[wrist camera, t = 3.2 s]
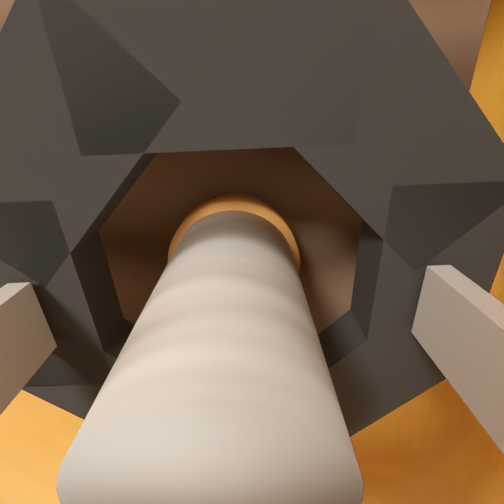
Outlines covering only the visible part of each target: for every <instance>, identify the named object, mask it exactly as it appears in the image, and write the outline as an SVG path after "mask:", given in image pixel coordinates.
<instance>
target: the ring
mask: <svg viewBox="0 0 504 504" xmlns="http://www.w3.org/2000/svg"><path fill="white" fill-rule="evenodd" d="M278 147H292V148H293V149H294V150H295V151H296V152H297V153H298V154H299V155H300V156H301V158H302V159H303V160H304V161H305V162H306V163H307V164H308V165H309V166H310V167H311V168H312V169H313V170H314V171H315V172H316V173H317V174H318V175H319V176H320V177H321V178H322V179H323V180H324V181H325V182H326V183H327V184H328V185H329V186H330V187H331V188H332V189H333V190H334V191H335V193H336V194H337V195H338V196H339V197H340V198H341V199H342V200H343V201H344V202H345V203H346V204H347V205H348V206H349V207H350V208H351V209H352V210H353V211H354V212H355V213H356V214H357V215H358V216H359V217H360V218H361V219H362V221H361V229H360V237H359V245H358V253H357V261H356V269H355V276H354V284H353V292H352V300H351V308H350V310H349V311H347V312H346V313H345V314H343V315H342V316H341V317H340V318H338V319H337V320H336V321H334V322H333V323H332V324H331V325H329V326H328V327H327V328H325V329H324V330H323V331H322V332H320V333H319V334H318V338H319V341H320V344H321V348H322V351H323V354H324V357H325V360H326V363H327V367H328V370H329V373H330V376H331V379H332V383H333V386H334V389H335V392H336V395H337V399H338V402H339V405H340V408H341V411H342V414H343V418H344V421H345V424H346V427H347V430H348V434H349V437H350V436H352V435H354V434H355V433H357V432H359V431H360V430H362V429H364V428H365V427H367V426H368V425H370V424H372V423H373V422H375V421H377V420H378V419H380V418H382V417H383V416H385V415H387V414H388V413H390V412H391V411H393V410H395V409H396V408H398V407H400V406H401V405H403V404H405V403H406V402H408V401H410V400H411V399H413V398H415V397H416V396H418V395H419V394H421V393H423V392H424V391H426V390H428V389H429V388H431V387H433V386H434V385H436V384H438V383H439V382H441V381H442V380H444V379H446V377H445V376H444V375H443V373H442V372H441V371H440V369H439V368H438V367H437V365H436V364H435V363H434V361H433V360H432V359H431V358H430V356H429V355H428V354H427V352H426V351H425V350H424V348H423V347H422V346H421V344H420V343H419V342H418V340H417V339H416V338H415V336H414V335H413V334H412V332H411V331H412V327H413V323H414V318H415V314H416V310H417V306H418V302H419V297H420V293H421V289H422V285H423V281H424V277H425V272H426V268H427V266H435V265H451V266H453V267H454V268H455V269H457V270H458V271H459V272H461V273H462V274H463V275H465V276H466V277H468V278H469V279H470V280H472V281H473V282H474V283H476V284H477V285H478V286H480V287H481V288H482V289H484V290H485V291H486V292H488V293H489V292H490V289H491V286H492V284H493V281H494V278H495V275H496V273H497V270H498V267H499V264H500V262H501V259H502V256H503V253H504V144H503V142H502V141H501V139H500V138H499V136H498V135H497V133H496V132H495V130H494V129H493V127H492V126H491V124H490V123H489V121H488V119H487V118H486V116H485V115H484V113H483V112H482V110H481V109H480V107H479V106H478V104H477V103H476V101H475V100H474V98H473V97H472V95H471V94H470V92H469V91H468V89H467V88H466V86H465V85H464V83H463V82H462V80H461V79H460V77H459V76H458V74H457V73H456V71H455V70H454V68H453V67H452V65H451V64H450V62H449V61H448V59H447V58H446V56H445V55H444V53H443V52H442V50H441V49H440V47H439V46H438V44H437V43H436V41H435V40H434V38H433V37H432V35H431V34H430V32H429V31H428V29H427V28H426V26H425V25H424V23H423V22H422V20H421V19H420V17H419V16H418V14H417V13H416V11H415V10H414V8H413V7H412V5H411V4H410V2H409V1H408V0H15V1H14V3H13V6H12V8H11V10H10V12H9V14H8V16H7V19H6V21H5V23H4V25H3V27H2V29H1V32H0V288H1V287H3V286H4V285H6V284H7V283H25V282H31V285H32V287H33V290H34V292H35V294H36V297H37V299H38V302H39V304H40V306H41V309H42V311H43V314H44V316H45V318H46V321H47V323H48V326H49V328H50V330H51V333H52V335H53V338H54V340H55V342H56V345H57V347H56V348H55V349H54V351H53V352H52V353H51V354H50V355H49V357H48V358H47V359H46V360H45V361H44V363H43V364H42V365H41V366H40V368H39V369H38V370H37V371H36V372H35V374H34V375H33V376H32V377H31V378H30V380H29V381H28V382H27V383H26V384H25V386H24V387H23V388H22V390H24V391H26V392H28V393H30V394H33V395H35V396H37V397H39V398H41V399H43V400H45V401H47V402H49V403H51V404H53V405H55V406H57V407H59V408H61V409H64V410H66V411H68V412H70V413H72V414H74V415H76V416H78V417H80V418H82V419H84V420H85V418H86V416H87V414H88V412H89V410H90V408H91V407H92V405H93V403H94V401H95V399H96V397H97V395H98V393H99V392H100V390H101V388H102V386H103V384H104V382H105V380H106V378H107V377H108V375H109V373H110V371H111V369H112V367H113V365H114V363H115V362H116V360H117V358H118V356H119V354H120V352H121V350H122V348H123V347H124V345H125V343H126V341H127V339H128V337H129V335H130V333H131V332H132V330H133V328H134V326H135V325H134V324H132V323H131V322H129V321H127V320H126V319H124V317H123V314H122V310H121V307H120V303H119V300H118V296H117V293H116V289H115V285H114V282H113V278H112V275H111V271H110V268H109V264H108V261H107V257H106V254H105V250H104V246H103V243H102V239H101V236H100V232H99V230H100V229H101V227H102V226H103V225H104V223H105V222H106V221H107V219H108V218H109V217H110V215H111V214H112V213H113V211H114V210H115V209H116V207H117V206H118V205H119V203H120V202H121V201H122V199H123V198H124V197H125V195H126V194H127V193H128V191H129V190H130V189H131V187H132V186H133V185H134V183H135V182H136V181H137V179H138V178H139V177H140V175H141V174H142V173H143V171H144V170H145V169H146V167H147V166H148V165H149V163H150V162H151V161H152V159H153V158H154V157H155V155H156V154H157V153H164V152H187V151H209V150H232V149H255V148H278Z"/></svg>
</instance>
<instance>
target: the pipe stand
mask: <svg viewBox="0 0 504 504" xmlns="http://www.w3.org/2000/svg"><path fill="white" fill-rule="evenodd" d="M14 1H15V0H0V32H1V29H2V27H3V25H4V23H5V21H6V19H7V16H8V14H9V12H10V10H11V8H12V6H13V3H14ZM408 1H409V2H410V4H411V5H412V7H413V8H414V10H415V11H416V13H417V14H418V16H419V17H420V19H421V20H422V22H423V23H424V25H425V26H426V28H427V29H428V31H429V32H430V34H431V35H432V37H433V38H434V40H435V41H436V43H437V44H438V46H439V47H440V49H441V50H442V52H443V53H444V55H445V56H446V58H447V59H448V61H449V62H450V64H451V65H452V67H453V68H454V70H455V71H456V73H457V74H458V76H459V77H460V79H461V80H462V82H463V83H464V85H465V86H466V88H467V89H468V91H470V86H471V82H472V78H473V74H474V70H475V66H476V62H477V58H478V54H479V49H480V45H481V41H482V37H483V33H484V29H485V25H486V21H487V17H488V13H489V8H490V4H491V0H408ZM361 221H362V219H361V218H360V217H359V216H358V215H357V214H356V213H355V212H354V211H353V210H352V209H351V208H350V207H349V206H348V205H347V204H346V203H345V202H344V201H343V200H342V199H341V198H340V197H339V196H338V195H337V194H336V193H335V191H334V190H333V189H332V188H331V187H330V186H329V185H328V184H327V183H326V182H325V181H324V180H323V179H322V178H321V177H320V176H319V175H318V174H317V173H316V172H315V171H314V170H313V169H312V168H311V167H310V166H309V165H308V164H307V163H306V162H305V161H304V160H303V159H302V158H301V156H300V155H299V154H298V153H297V152H296V151H295V150H294V149H293V148H292V147H278V148H255V149H232V150H209V151H187V152H164V153H157V154H156V155H155V157H154V158H153V159H152V161H151V162H150V163H149V165H148V166H147V167H146V169H145V170H144V171H143V173H142V174H141V175H140V177H139V178H138V179H137V181H136V182H135V183H134V185H133V186H132V187H131V189H130V190H129V191H128V193H127V194H126V195H125V197H124V198H123V199H122V201H121V202H120V203H119V205H118V206H117V207H116V209H115V210H114V211H113V213H112V214H111V215H110V217H109V218H108V219H107V221H106V222H105V223H104V225H103V226H102V227H101V229H100V230H99V232H100V236H101V239H102V243H103V246H104V250H105V254H106V257H107V261H108V264H109V268H110V271H111V275H112V278H113V282H114V285H115V289H116V293H117V296H118V300H119V303H120V307H121V310H122V314H123V317H124V319H126V320H127V321H129V322H131V323H132V324H134V325H135V326H134V328H133V330H132V332H131V333H130V335H129V337H128V339H127V341H126V343H125V345H124V347H123V348H122V350H121V352H120V354H119V356H118V358H117V360H116V362H115V363H114V365H113V367H112V369H111V371H110V373H109V375H108V377H107V378H106V380H105V382H104V384H103V386H102V388H101V390H100V392H99V393H98V395H97V397H96V399H95V401H94V403H93V405H92V407H91V408H90V410H89V412H88V414H87V416H86V418H85V420H84V422H83V424H82V425H81V427H80V429H79V431H78V433H77V435H76V437H75V439H74V440H73V442H72V444H71V446H70V448H69V450H68V452H67V454H66V455H65V457H64V459H63V461H62V463H61V465H60V468H59V471H58V475H57V493H58V497H59V501H60V503H61V504H361V503H362V500H363V491H364V487H363V479H362V475H361V472H360V469H359V465H358V462H357V459H356V456H355V453H354V450H353V446H352V443H351V440H350V437H349V434H348V430H347V427H346V424H345V421H344V418H343V414H342V411H341V408H340V405H339V402H338V399H337V395H336V392H335V389H334V386H333V383H332V379H331V376H330V373H329V370H328V367H327V363H326V360H325V357H324V354H323V351H322V348H321V344H320V341H319V338H318V334H319V333H320V332H322V331H323V330H324V329H325V328H327V327H328V326H329V325H331V324H332V323H333V322H334V321H336V320H337V319H338V318H340V317H341V316H342V315H343V314H345V313H346V312H347V311H349V310H350V308H351V300H352V292H353V284H354V276H355V269H356V261H357V253H358V245H359V237H360V229H361Z"/></svg>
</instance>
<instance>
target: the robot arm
mask: <svg viewBox="0 0 504 504" xmlns="http://www.w3.org/2000/svg"><path fill="white" fill-rule="evenodd" d="M411 332H412V334H413V335H414V336H415V338H416V339H417V340H418V342H419V343H420V344H421V346H422V347H423V348H424V350H425V351H426V352H427V354H428V355H429V356H430V358H431V359H432V360H433V361H434V363H435V364H436V365H437V367H438V368H439V369H440V371H441V372H442V373H443V375H444V376H445V377H446V379H447V380H448V381H449V383H450V384H451V385H452V387H453V388H454V389H455V391H456V392H457V393H458V395H459V396H460V397H461V399H462V400H463V401H464V403H465V404H466V405H467V407H468V408H469V409H470V411H471V412H472V413H473V415H474V416H475V417H476V419H477V420H478V421H479V423H480V424H481V425H482V427H483V428H484V429H485V431H486V432H487V433H488V434H489V436H490V437H491V438H492V440H493V441H494V442H495V444H496V445H497V446H498V448H499V449H500V450H501V452H502V453H503V454H504V304H503V303H501V302H500V301H499V300H497V299H496V298H495V297H493V296H492V295H491V294H489V293H488V292H486V291H485V290H484V289H482V288H481V287H480V286H478V285H477V284H476V283H474V282H473V281H472V280H470V279H469V278H468V277H466V276H465V275H463V274H462V273H461V272H459V271H458V270H457V269H455V268H454V267H453V266H451V265H435V266H427V268H426V272H425V277H424V281H423V285H422V289H421V293H420V297H419V302H418V306H417V310H416V314H415V318H414V323H413V327H412V331H411ZM56 347H57V345H56V342H55V340H54V338H53V335H52V333H51V330H50V328H49V326H48V323H47V321H46V318H45V316H44V314H43V311H42V309H41V306H40V304H39V302H38V299H37V297H36V294H35V292H34V290H33V287H32V285H31V282H25V283H7V284H6V285H4V286H3V287H1V288H0V415H1V414H2V412H3V411H4V410H5V409H6V407H7V406H8V405H9V404H10V403H11V401H12V400H13V399H14V398H15V397H16V395H17V394H18V393H19V392H20V391H21V389H22V388H23V387H24V386H25V384H26V383H27V382H28V381H29V380H30V378H31V377H32V376H33V375H34V374H35V372H36V371H37V370H38V369H39V368H40V366H41V365H42V364H43V363H44V361H45V360H46V359H47V358H48V357H49V355H50V354H51V353H52V352H53V351H54V349H55V348H56Z"/></svg>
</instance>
